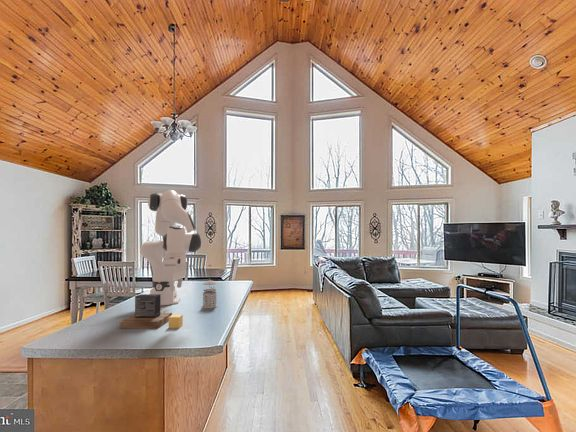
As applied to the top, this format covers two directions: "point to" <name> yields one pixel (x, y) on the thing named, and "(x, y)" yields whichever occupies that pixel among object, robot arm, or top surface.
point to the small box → (147, 305)
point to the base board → (145, 321)
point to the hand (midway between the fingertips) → (176, 289)
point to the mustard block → (175, 321)
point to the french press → (209, 295)
